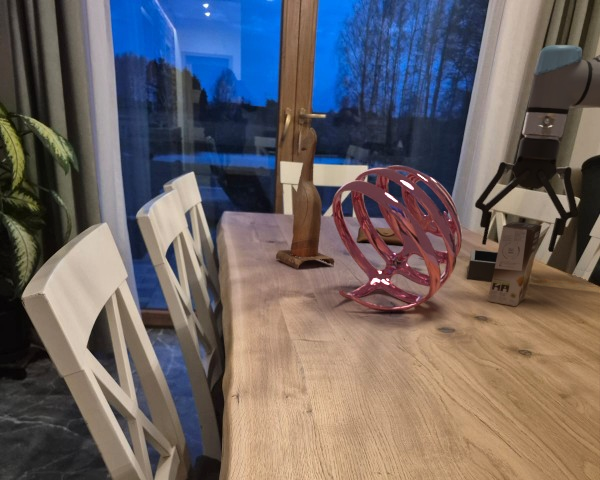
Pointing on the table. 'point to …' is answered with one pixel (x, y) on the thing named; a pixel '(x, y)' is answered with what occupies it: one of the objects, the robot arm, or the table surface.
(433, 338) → the table surface
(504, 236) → the coffee box
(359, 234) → the sunglasses case
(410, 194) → the spiral basket
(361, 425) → the table surface
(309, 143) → the bird sculpture
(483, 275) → the box
